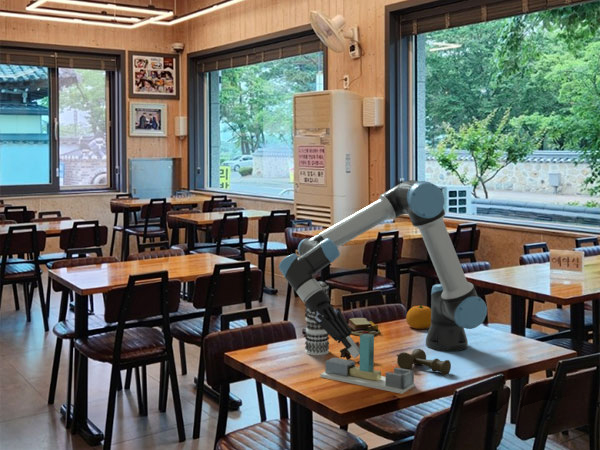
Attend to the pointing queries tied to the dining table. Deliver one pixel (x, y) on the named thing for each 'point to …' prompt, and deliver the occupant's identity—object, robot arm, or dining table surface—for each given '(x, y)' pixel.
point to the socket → (399, 378)
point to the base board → (366, 382)
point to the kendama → (422, 361)
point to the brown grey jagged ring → (346, 353)
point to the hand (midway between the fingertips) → (357, 355)
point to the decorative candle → (316, 332)
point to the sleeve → (338, 366)
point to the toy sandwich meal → (362, 326)
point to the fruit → (419, 317)
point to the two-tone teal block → (366, 360)
